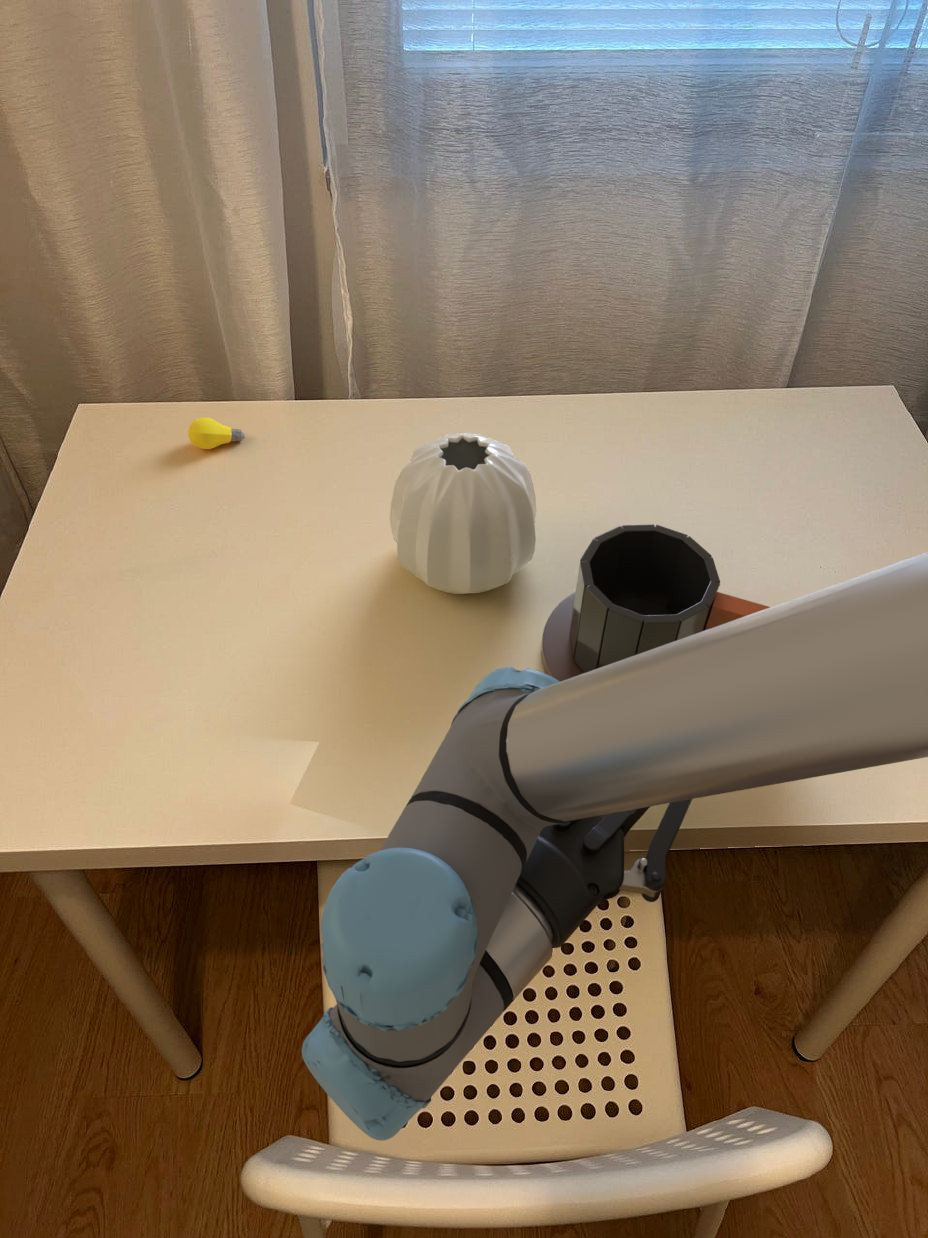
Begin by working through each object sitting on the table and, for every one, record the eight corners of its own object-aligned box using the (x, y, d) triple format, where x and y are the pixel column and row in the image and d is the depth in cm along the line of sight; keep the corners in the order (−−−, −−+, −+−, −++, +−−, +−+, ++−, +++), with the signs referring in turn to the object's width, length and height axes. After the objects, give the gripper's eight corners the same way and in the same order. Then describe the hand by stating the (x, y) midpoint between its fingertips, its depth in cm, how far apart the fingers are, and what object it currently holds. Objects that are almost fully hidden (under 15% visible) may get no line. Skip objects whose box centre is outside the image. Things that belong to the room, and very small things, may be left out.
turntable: (730, 613, 88) (734, 602, 87) (707, 751, 78) (711, 741, 77) (563, 575, 91) (565, 564, 90) (521, 703, 81) (522, 693, 80)
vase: (533, 515, 96) (542, 407, 86) (531, 617, 87) (541, 510, 77) (400, 508, 97) (394, 401, 87) (384, 609, 88) (375, 502, 78)
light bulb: (185, 442, 104) (187, 411, 102) (240, 446, 106) (242, 415, 104) (189, 453, 101) (190, 421, 99) (245, 456, 103) (248, 424, 102)
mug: (653, 576, 89) (670, 501, 82) (767, 684, 80) (797, 610, 73) (546, 630, 84) (554, 555, 77) (654, 750, 76) (675, 678, 69)
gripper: (441, 872, 67) (636, 678, 78) (586, 999, 61) (774, 770, 72) (439, 820, 61) (650, 619, 72) (600, 954, 55) (801, 713, 67)
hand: (712, 694), depth 72 cm, fingers closed
